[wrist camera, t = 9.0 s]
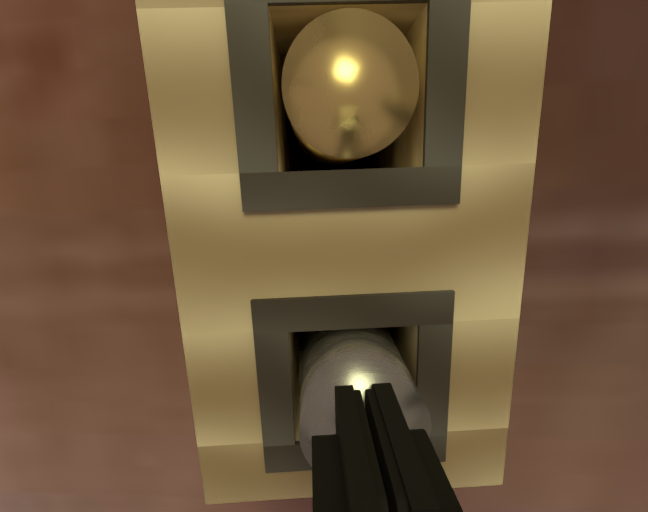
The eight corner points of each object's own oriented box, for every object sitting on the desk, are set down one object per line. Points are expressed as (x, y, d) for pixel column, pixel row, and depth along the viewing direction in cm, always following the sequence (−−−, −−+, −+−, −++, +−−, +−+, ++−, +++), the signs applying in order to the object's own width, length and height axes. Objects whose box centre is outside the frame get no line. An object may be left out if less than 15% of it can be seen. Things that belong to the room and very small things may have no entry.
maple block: (439, 383, 21) (504, 488, 14) (239, 394, 21) (204, 509, 14) (457, 8, 16) (568, -118, 9) (200, 12, 16) (116, -114, 9)
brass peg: (375, 163, 17) (417, 155, 11) (294, 166, 17) (285, 160, 10) (375, 74, 16) (421, 6, 10) (290, 77, 16) (277, 9, 9)
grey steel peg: (383, 366, 18) (429, 483, 11) (304, 371, 17) (302, 491, 11) (384, 292, 17) (434, 369, 10) (300, 296, 16) (295, 377, 10)
